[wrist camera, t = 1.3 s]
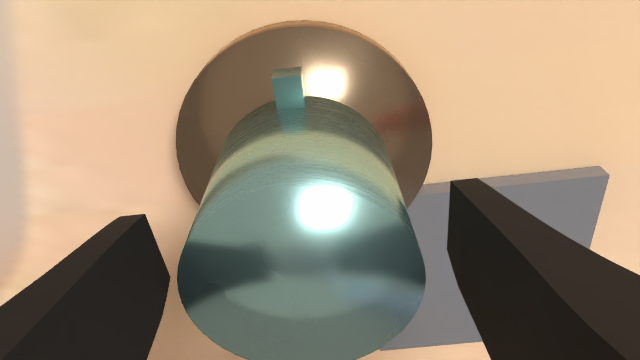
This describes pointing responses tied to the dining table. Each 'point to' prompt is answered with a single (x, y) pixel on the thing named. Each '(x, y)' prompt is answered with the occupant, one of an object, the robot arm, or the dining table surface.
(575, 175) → the coaster
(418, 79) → the dining table surface
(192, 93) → the bronze metal disc
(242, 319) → the teal mug
